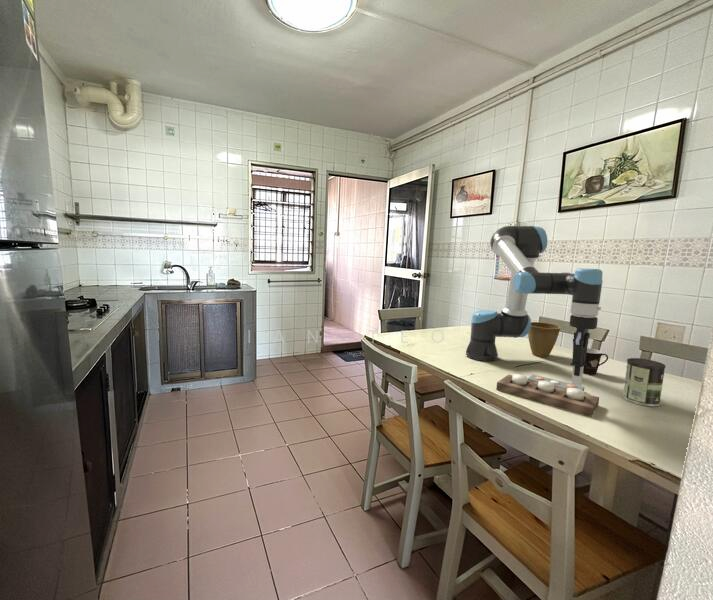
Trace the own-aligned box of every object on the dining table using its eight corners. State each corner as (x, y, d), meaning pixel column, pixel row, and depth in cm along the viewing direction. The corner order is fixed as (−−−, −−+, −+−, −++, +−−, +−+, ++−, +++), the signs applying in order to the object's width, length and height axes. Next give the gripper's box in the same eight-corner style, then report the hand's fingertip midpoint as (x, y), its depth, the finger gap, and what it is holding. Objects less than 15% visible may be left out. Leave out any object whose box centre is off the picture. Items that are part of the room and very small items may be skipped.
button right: (564, 397, 114) (565, 390, 114) (568, 393, 117) (568, 386, 117) (581, 402, 110) (582, 394, 110) (585, 397, 114) (585, 390, 114)
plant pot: (521, 355, 172) (523, 324, 170) (528, 349, 183) (531, 320, 181) (554, 361, 163) (557, 329, 160) (559, 355, 174) (563, 325, 172)
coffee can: (656, 398, 121) (661, 361, 120) (663, 409, 113) (669, 369, 111) (620, 392, 127) (625, 356, 125) (624, 401, 118) (629, 363, 116)
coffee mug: (577, 373, 146) (579, 351, 145) (574, 368, 154) (577, 346, 152) (609, 378, 141) (612, 355, 139) (605, 372, 148) (608, 350, 147)
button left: (509, 382, 126) (510, 376, 126) (514, 379, 130) (515, 373, 130) (524, 386, 123) (524, 380, 123) (528, 383, 126) (529, 376, 126)
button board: (496, 389, 127) (496, 382, 126) (508, 381, 135) (508, 374, 135) (591, 417, 106) (592, 408, 106) (598, 405, 115) (599, 397, 114)
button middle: (535, 389, 120) (536, 383, 120) (540, 386, 124) (540, 379, 123) (551, 393, 117) (552, 387, 116) (555, 389, 120) (555, 383, 120)
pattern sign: (526, 383, 134) (527, 377, 133) (532, 379, 139) (532, 373, 138) (579, 397, 121) (580, 391, 121) (583, 391, 126) (584, 386, 126)
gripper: (594, 319, 103) (585, 392, 106) (601, 314, 112) (593, 382, 115) (566, 316, 108) (558, 386, 111) (575, 312, 117) (568, 376, 120)
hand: (576, 384), depth 113 cm, fingers closed
